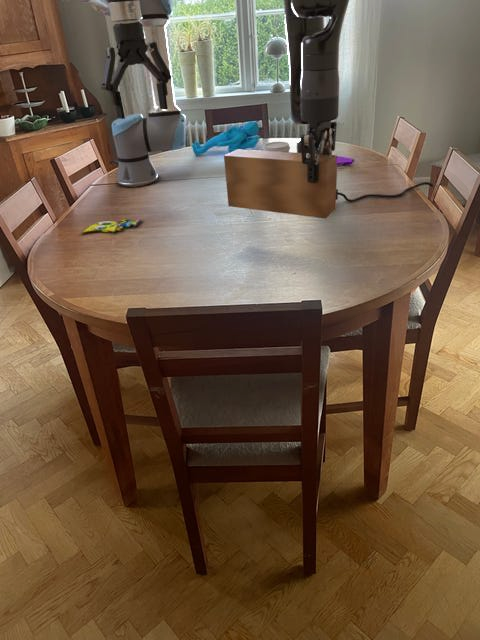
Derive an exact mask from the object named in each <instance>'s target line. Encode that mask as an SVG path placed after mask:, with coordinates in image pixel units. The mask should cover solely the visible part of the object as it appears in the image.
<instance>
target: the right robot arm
mask: <svg viewBox="0 0 480 640" xmlns="http://www.w3.org/2000/svg"><path fill="white" fill-rule="evenodd" d="M349 2H350V0H283V11H284V24H285V35H286V45H287V55H288V65H289V67H288V68H289V107H290V109H289V110H290V117H291V120H292V123H293V124H294V125H296V126H307V131H306V134H303V133H302V134H301V135H300V138H299V139H298V140H297V142H296V153H302V164H306V165H307V181H308V182H309V183H317V182H318V163H319V157H320V155H321V154H325V155H333V152H335V150H336V138H337V126H338V123H337V121H335V120H337V119H338V117H339V106H340V104H339V103H340V71H339V63H340V40H341V34H342V29H343V25H344V21H345V17H346V13H347V10H348V6H349ZM325 18H328V21H327V24H326V26H325ZM306 153H307V157H306ZM315 154H316V156H315ZM424 185H426V186H427V185H428V186H430V187H432V188H434V184H433V183H431V182H428V181H423V182H419V183H418V184H414V185H413V186H409V187H407V188H406V189H404V190H403V191H402V192H400V193H397V194H380V193H379V194H378V193H368V194H363V195H361V196H358V197H357V198H354V199H351V198H348V196H347V195H346V194H344V193H343V192H339V189H338V188H336V201H337V200H339V199H338V198H339V196H341V197H343V199H344V200H345V201H346V202H349V203H353V202H357V201H359V200H362V199H364V198H372V197H373V198H387V199H388V198H391V199H392V198H398V197H402V196H403V195H405V193H406V192H408V191H411V190H414V189H416V188H418V187H421V186H424Z"/></svg>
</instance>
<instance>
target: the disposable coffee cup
mask: <svg viewBox="0 0 480 640" xmlns="http://www.w3.org/2000/svg"><path fill="white" fill-rule="evenodd" d="M290 149H291V146H290V144H289V142H286V141H272V142H266V143H265V144H263V148H262V151H277V152H290Z"/></svg>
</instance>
